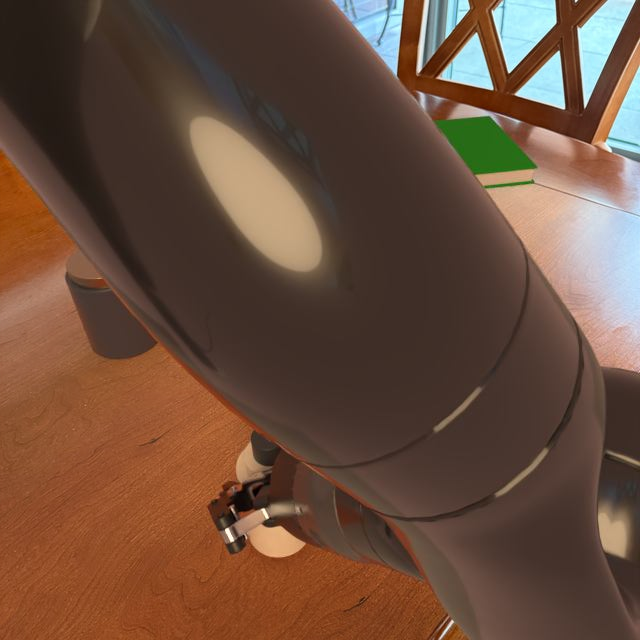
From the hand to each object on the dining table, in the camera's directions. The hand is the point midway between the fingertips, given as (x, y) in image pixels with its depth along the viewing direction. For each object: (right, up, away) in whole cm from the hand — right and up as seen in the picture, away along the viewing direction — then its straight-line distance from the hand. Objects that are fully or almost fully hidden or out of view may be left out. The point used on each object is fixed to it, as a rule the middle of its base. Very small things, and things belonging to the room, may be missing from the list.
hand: (262, 474), depth 50 cm
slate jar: (-19, +11, +24) cm, 33 cm away
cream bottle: (+1, -5, +3) cm, 6 cm away
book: (+25, +41, +57) cm, 75 cm away
